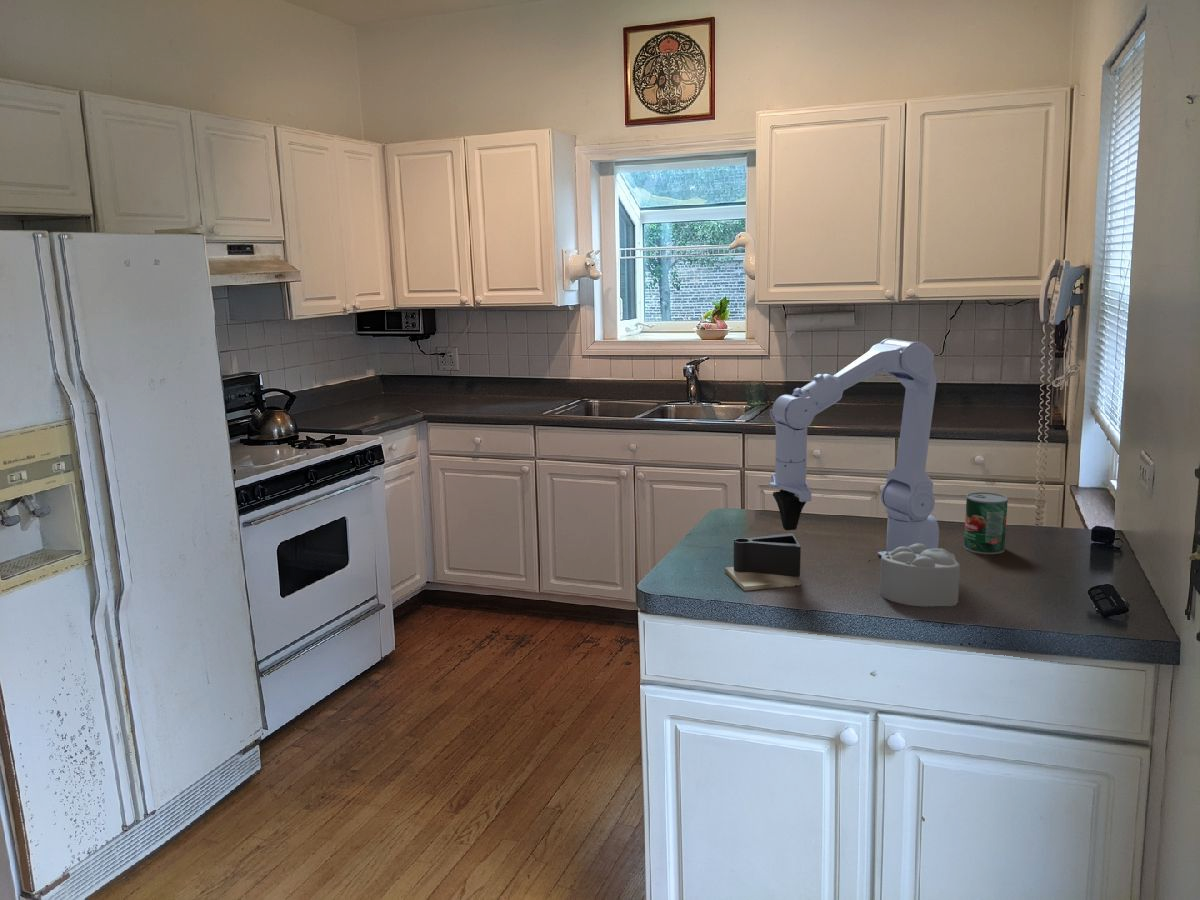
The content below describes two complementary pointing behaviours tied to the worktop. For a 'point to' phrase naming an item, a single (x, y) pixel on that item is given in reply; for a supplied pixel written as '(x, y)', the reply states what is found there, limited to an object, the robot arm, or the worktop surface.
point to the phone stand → (768, 555)
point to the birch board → (760, 580)
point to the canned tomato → (985, 523)
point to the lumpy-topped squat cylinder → (920, 576)
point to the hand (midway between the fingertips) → (789, 529)
